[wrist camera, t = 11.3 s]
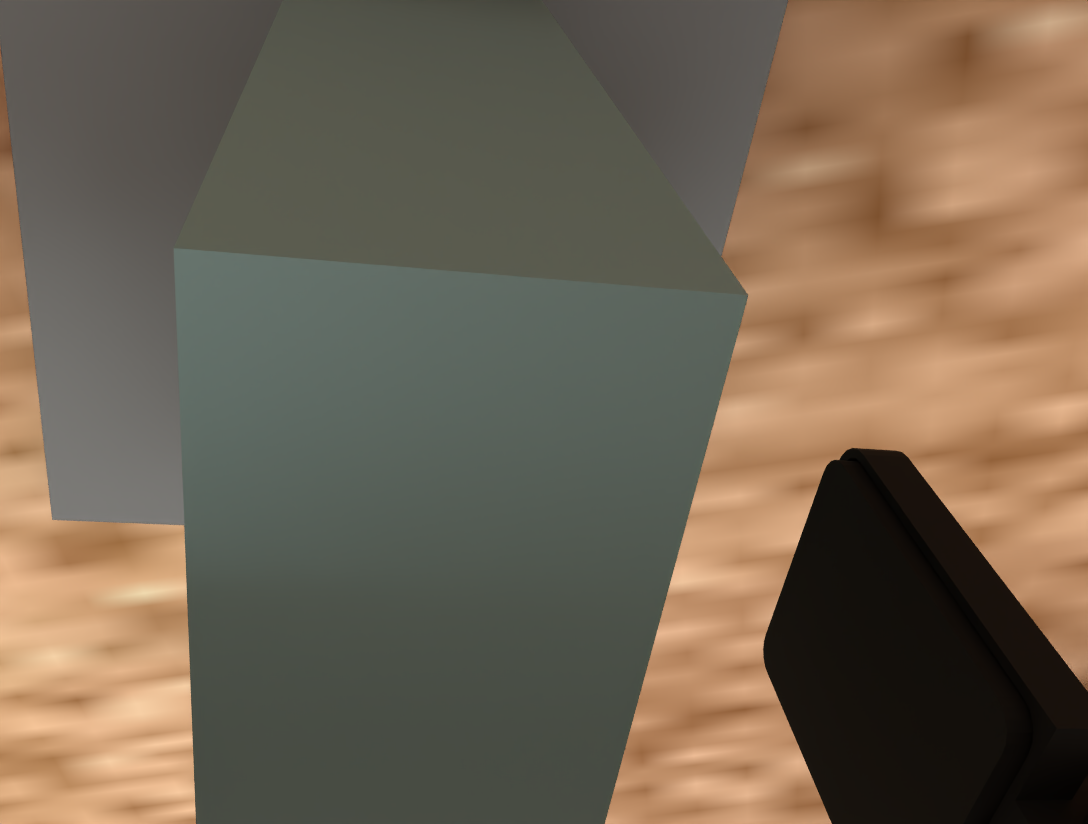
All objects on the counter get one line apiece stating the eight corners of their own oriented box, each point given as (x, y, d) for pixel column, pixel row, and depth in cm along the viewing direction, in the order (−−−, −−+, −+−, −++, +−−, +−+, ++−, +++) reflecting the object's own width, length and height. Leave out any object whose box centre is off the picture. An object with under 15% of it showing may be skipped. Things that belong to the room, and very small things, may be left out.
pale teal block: (513, -40, 16) (748, 295, 6) (448, 490, 21) (511, 1168, 11) (313, -69, 15) (174, 247, 5) (296, 483, 20) (210, 1192, 10)
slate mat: (807, -128, 16) (821, -125, 16) (640, 526, 23) (646, 544, 22) (-20, -275, 14) (-35, -277, 13) (60, 501, 20) (51, 519, 20)
